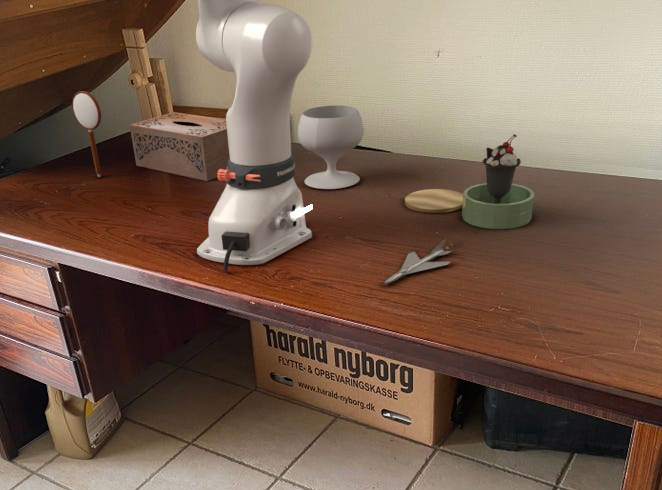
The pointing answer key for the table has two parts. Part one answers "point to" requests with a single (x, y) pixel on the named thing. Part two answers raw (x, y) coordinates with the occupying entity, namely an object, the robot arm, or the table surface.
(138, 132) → the tissue box cover
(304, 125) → the chalice
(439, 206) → the trivet
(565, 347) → the table surface
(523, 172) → the table surface
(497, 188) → the sundae
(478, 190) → the green shallow round dish
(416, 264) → the toy airplane
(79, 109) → the magnifying glass
